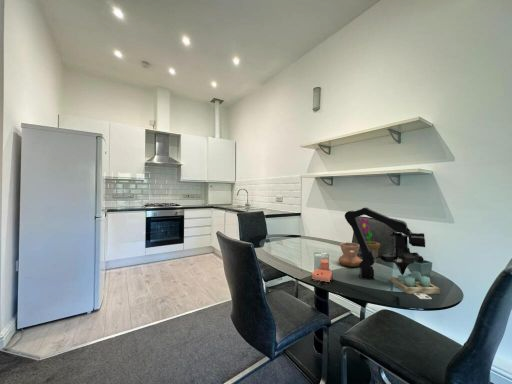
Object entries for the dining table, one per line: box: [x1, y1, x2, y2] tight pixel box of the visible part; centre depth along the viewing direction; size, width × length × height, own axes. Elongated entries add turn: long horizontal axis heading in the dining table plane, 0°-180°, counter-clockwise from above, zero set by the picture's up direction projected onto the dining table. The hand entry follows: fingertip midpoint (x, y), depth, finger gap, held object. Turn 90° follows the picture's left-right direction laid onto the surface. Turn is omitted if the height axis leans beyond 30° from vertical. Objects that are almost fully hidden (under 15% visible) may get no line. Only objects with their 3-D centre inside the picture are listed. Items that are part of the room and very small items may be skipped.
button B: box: [404, 275, 415, 287], centre depth 110 cm, size 4×4×4 cm
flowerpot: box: [359, 216, 381, 258], centre depth 169 cm, size 14×14×30 cm
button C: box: [410, 271, 421, 282], centre depth 116 cm, size 4×4×4 cm
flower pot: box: [407, 259, 433, 277], centre depth 127 cm, size 9×9×9 cm
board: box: [389, 276, 441, 295], centre depth 113 cm, size 15×15×2 cm
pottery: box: [311, 256, 333, 283], centre depth 130 cm, size 18×10×10 cm, turn 154°
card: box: [413, 293, 433, 300], centre depth 103 cm, size 5×5×1 cm
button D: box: [420, 276, 431, 287], centre depth 109 cm, size 4×4×4 cm
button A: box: [397, 274, 406, 281], centre depth 117 cm, size 4×4×4 cm
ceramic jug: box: [338, 241, 363, 268], centre depth 151 cm, size 18×14×14 cm
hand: (402, 274), depth 117 cm, fingers closed
